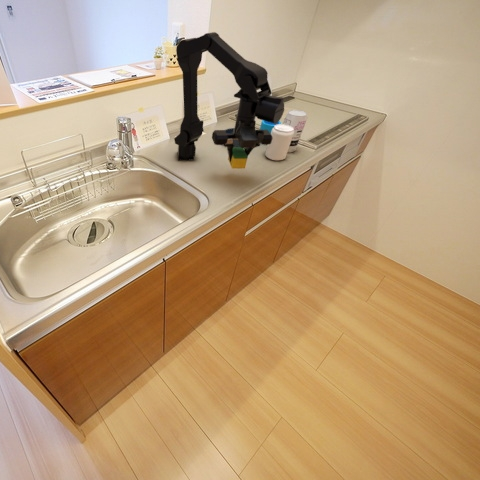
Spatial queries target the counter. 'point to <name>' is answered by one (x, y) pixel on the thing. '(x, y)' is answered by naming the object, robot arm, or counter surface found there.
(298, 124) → the supplement can
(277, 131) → the beverage can
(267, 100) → the robot arm
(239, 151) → the sponge
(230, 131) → the bowl
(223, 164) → the counter surface
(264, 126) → the mug
